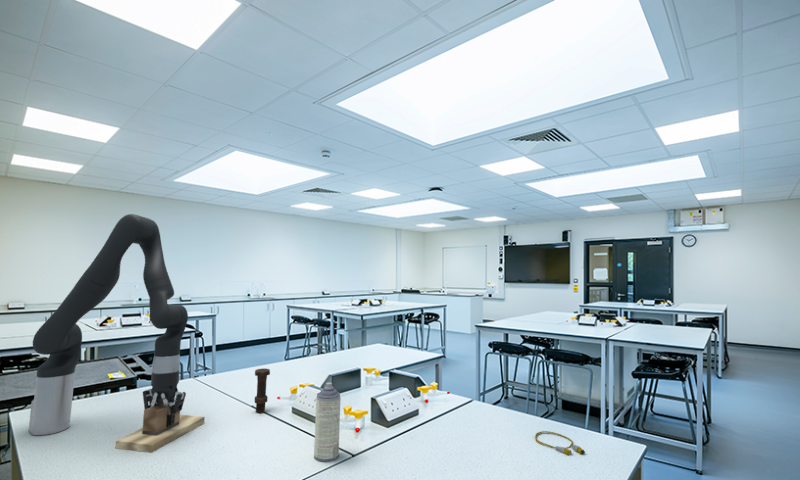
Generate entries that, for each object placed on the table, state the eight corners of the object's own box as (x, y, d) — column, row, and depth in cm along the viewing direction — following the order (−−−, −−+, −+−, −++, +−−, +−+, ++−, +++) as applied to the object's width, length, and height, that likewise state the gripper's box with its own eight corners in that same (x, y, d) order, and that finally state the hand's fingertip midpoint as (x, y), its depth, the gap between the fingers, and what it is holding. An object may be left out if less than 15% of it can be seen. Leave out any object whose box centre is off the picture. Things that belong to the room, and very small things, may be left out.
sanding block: (142, 433, 116) (144, 409, 116) (165, 422, 125) (167, 400, 125) (156, 435, 115) (158, 411, 115) (179, 424, 124) (180, 401, 124)
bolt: (257, 415, 138) (259, 372, 139) (249, 412, 141) (251, 370, 142) (271, 411, 142) (273, 369, 144) (263, 408, 145) (265, 367, 147)
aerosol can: (339, 450, 112) (341, 379, 114) (337, 461, 106) (340, 386, 107) (315, 450, 112) (318, 380, 113) (312, 462, 105) (315, 386, 107)
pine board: (115, 448, 111) (115, 440, 111) (173, 419, 132) (173, 413, 133) (151, 452, 109) (151, 444, 109) (204, 423, 130) (204, 416, 130)
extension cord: (543, 456, 113) (543, 448, 113) (530, 433, 128) (530, 427, 129) (586, 458, 112) (586, 451, 112) (568, 436, 127) (568, 429, 127)
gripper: (136, 370, 119) (131, 427, 118) (176, 374, 116) (172, 432, 115) (156, 365, 126) (152, 418, 125) (194, 368, 124) (190, 423, 122)
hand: (162, 425), depth 120 cm, fingers closed on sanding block, 5 cm apart
